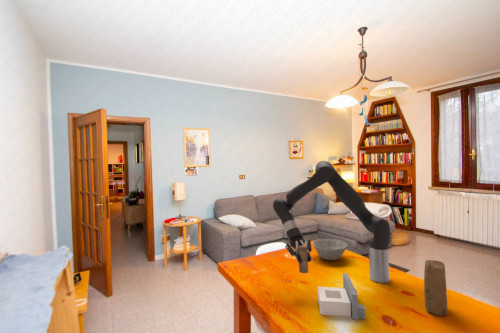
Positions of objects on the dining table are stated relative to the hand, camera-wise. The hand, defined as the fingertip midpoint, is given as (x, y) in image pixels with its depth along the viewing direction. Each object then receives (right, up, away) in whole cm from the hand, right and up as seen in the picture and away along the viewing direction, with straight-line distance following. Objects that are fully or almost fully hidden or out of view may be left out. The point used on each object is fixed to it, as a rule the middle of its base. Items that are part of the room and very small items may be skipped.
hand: (305, 261), depth 117 cm
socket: (+10, -16, -11) cm, 22 cm away
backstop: (+19, -15, -10) cm, 26 cm away
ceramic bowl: (+27, -16, +45) cm, 55 cm away
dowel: (0, -5, +2) cm, 6 cm away
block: (+52, -15, -15) cm, 56 cm away
